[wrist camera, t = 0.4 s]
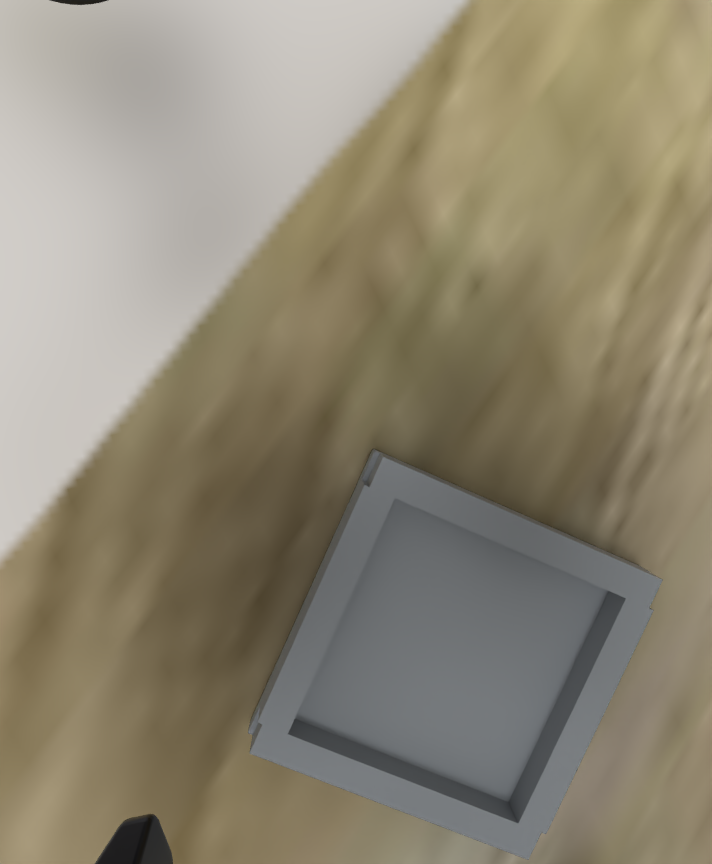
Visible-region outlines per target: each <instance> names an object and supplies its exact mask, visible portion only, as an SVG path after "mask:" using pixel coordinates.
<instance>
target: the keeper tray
mask: <svg viewBox="0 0 712 864" xmlns="http://www.w3.org/2000/svg"><path fill="white" fill-rule="evenodd" d="M661 583H662V579H660V578H659V577H657V576H655V575H653V574H652V573H650V572H649V571H648V570H646V569H644V568H642V567H641V566H639V565H636V564H634V563H632V562H629V561H627V560H625V559H623V558H620V557H618V556H616V555H614V554H611V553H609V552H607V551H604V550H602V549H600V548H598V547H595V546H593V545H591V544H589V543H586V542H584V541H582V540H580V539H577V538H575V537H573V536H570V535H568V534H566V533H564V532H561V531H559V530H557V529H555V528H552V527H550V526H548V525H545V524H543V523H541V522H539V521H536V520H534V519H532V518H530V517H527V516H525V515H523V514H521V513H518V512H516V511H514V510H511V509H509V508H507V507H505V506H502V505H500V504H498V503H496V502H493V501H491V500H489V499H486V498H484V497H482V496H480V495H477V494H475V493H473V492H471V491H468V490H466V489H464V488H462V487H459V486H457V485H455V484H452V483H450V482H448V481H446V480H443V479H441V478H439V477H437V476H434V475H432V474H430V473H427V472H425V471H423V470H421V469H418V468H416V467H414V466H412V465H409V464H407V463H405V462H403V461H400V460H398V459H396V458H393V457H391V456H389V455H387V454H384V453H382V452H380V451H378V450H375V449H373V450H372V452H371V454H370V456H369V459H368V461H367V463H366V465H365V467H364V470H363V472H362V474H361V476H360V479H359V481H358V483H357V485H356V487H355V490H354V492H353V494H352V496H351V499H350V501H349V503H348V505H347V507H346V510H345V512H344V514H343V516H342V519H341V521H340V523H339V525H338V527H337V530H336V532H335V534H334V536H333V539H332V541H331V543H330V545H329V547H328V550H327V552H326V554H325V556H324V559H323V561H322V563H321V565H320V567H319V570H318V572H317V574H316V576H315V579H314V581H313V583H312V585H311V587H310V590H309V592H308V594H307V596H306V599H305V601H304V603H303V605H302V607H301V610H300V612H299V614H298V616H297V619H296V621H295V623H294V625H293V627H292V630H291V632H290V634H289V636H288V639H287V641H286V643H285V645H284V647H283V650H282V652H281V654H280V656H279V659H278V661H277V663H276V665H275V667H274V670H273V672H272V674H271V676H270V679H269V681H268V683H267V685H266V687H265V690H264V692H263V694H262V696H261V699H260V701H259V703H258V705H257V707H256V710H255V712H254V714H253V716H252V719H251V721H250V725H249V730H248V733H249V734H252V735H253V736H252V742H251V748H250V754H252V755H255V756H258V757H260V758H263V759H265V760H268V761H271V762H273V763H276V764H278V765H281V766H284V767H286V768H289V769H292V770H294V771H297V772H299V773H302V774H305V775H307V776H310V777H313V778H315V779H318V780H320V781H323V782H326V783H328V784H331V785H333V786H336V787H339V788H341V789H344V790H347V791H349V792H352V793H354V794H357V795H360V796H362V797H365V798H368V799H370V800H373V801H375V802H378V803H381V804H383V805H386V806H388V807H391V808H394V809H396V810H399V811H402V812H404V813H407V814H409V815H412V816H415V817H417V818H420V819H422V820H425V821H428V822H430V823H433V824H436V825H438V826H441V827H443V828H446V829H449V830H451V831H454V832H457V833H459V834H462V835H464V836H467V837H470V838H472V839H475V840H477V841H480V842H483V843H485V844H488V845H491V846H493V847H496V848H498V849H501V850H504V851H506V852H509V853H512V854H514V855H517V856H519V857H522V858H525V859H527V860H528V859H529V857H530V855H531V853H532V851H533V849H534V847H535V845H536V843H537V841H538V839H539V836H540V834H541V833H544V834H546V833H547V831H548V829H549V827H550V825H551V823H552V821H553V819H554V817H555V814H556V812H557V810H558V808H559V806H560V804H561V802H562V800H563V798H564V796H565V794H566V792H567V790H568V787H569V785H570V783H571V781H572V779H573V777H574V775H575V773H576V771H577V769H578V767H579V765H580V763H581V760H582V758H583V756H584V754H585V752H586V750H587V748H588V746H589V744H590V742H591V740H592V738H593V735H594V733H595V731H596V729H597V727H598V725H599V723H600V721H601V719H602V717H603V715H604V713H605V711H606V708H607V706H608V704H609V702H610V700H611V698H612V696H613V694H614V692H615V690H616V688H617V686H618V684H619V681H620V679H621V677H622V675H623V673H624V671H625V669H626V667H627V665H628V663H629V661H630V659H631V656H632V654H633V652H634V650H635V648H636V646H637V644H638V642H639V640H640V638H641V636H642V634H643V632H644V629H645V627H646V625H647V623H648V621H649V619H650V617H651V615H652V613H653V611H654V610H652V609H651V608H650V605H651V603H652V601H653V599H654V597H655V595H656V593H657V591H658V589H659V587H660V585H661Z"/></svg>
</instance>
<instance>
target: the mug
mask: <svg viewBox="0 0 712 864" xmlns="http://www.w3.org/2000/svg"><path fill="white" fill-rule="evenodd" d="M51 1H55V2H59V3H65V4H74V5H85V4H94V3H99V2H103V1H107V0H51Z"/></svg>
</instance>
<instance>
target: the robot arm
mask: <svg viewBox="0 0 712 864" xmlns="http://www.w3.org/2000/svg"><path fill="white" fill-rule="evenodd" d="M95 864H173V859H172V853H171V850H170V847H169V845H168V842H167V840H166V837H165V835H164V832H163V830H162V827H161V825H160V822H159V820H158V818H157V817H156V816H155V815H154V814H147V815H143V816H138V817H133V818H129V819H127V820H125V821H124V822H123V823H122V824H121V825H120V826H119V827H118V829H117V830H116V832H115V833H114V835H113V837H112V838H111V840H110V841H109V843H108V844H107V846H106V847H105V849H104V850H103V852H102V853H101V855H100V856H99V858H98V860H97V861H96V863H95Z"/></svg>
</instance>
